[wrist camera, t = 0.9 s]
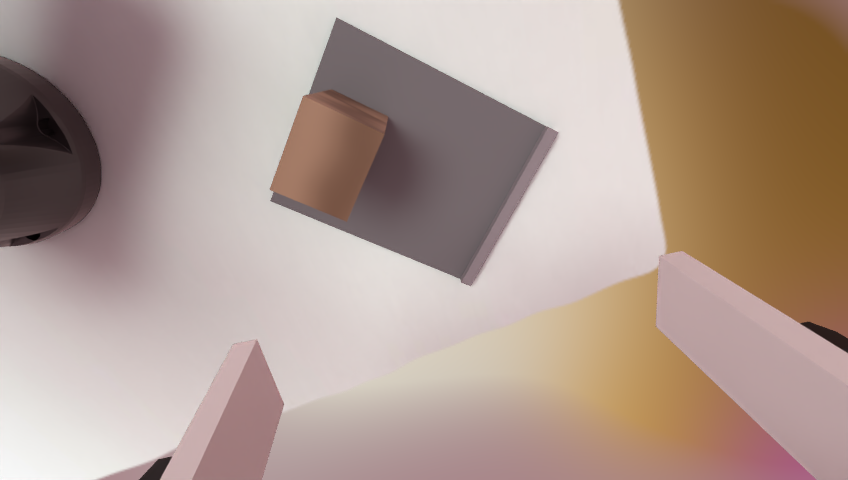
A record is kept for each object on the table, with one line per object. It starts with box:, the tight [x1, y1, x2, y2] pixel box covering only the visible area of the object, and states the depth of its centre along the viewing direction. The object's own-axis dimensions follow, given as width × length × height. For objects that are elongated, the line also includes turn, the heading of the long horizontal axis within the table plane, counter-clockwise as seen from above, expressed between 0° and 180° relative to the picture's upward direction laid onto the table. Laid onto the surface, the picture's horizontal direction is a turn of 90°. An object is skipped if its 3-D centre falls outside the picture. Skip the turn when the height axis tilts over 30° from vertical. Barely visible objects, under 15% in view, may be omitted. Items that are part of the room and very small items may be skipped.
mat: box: [271, 18, 558, 286], centre depth 36 cm, size 20×16×1 cm
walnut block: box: [270, 89, 388, 222], centre depth 30 cm, size 5×6×11 cm
